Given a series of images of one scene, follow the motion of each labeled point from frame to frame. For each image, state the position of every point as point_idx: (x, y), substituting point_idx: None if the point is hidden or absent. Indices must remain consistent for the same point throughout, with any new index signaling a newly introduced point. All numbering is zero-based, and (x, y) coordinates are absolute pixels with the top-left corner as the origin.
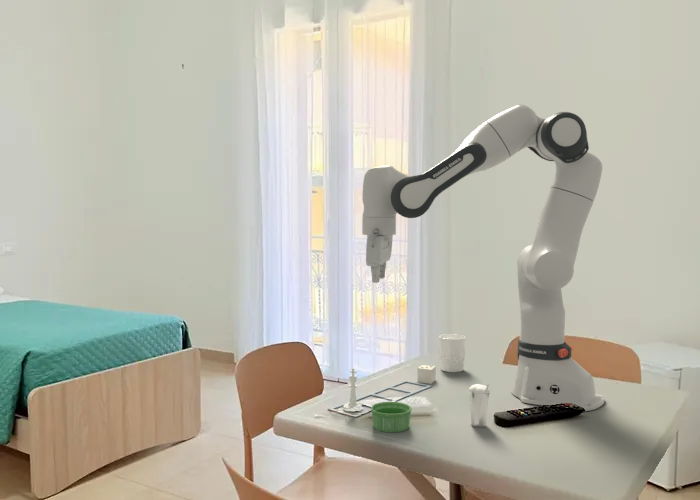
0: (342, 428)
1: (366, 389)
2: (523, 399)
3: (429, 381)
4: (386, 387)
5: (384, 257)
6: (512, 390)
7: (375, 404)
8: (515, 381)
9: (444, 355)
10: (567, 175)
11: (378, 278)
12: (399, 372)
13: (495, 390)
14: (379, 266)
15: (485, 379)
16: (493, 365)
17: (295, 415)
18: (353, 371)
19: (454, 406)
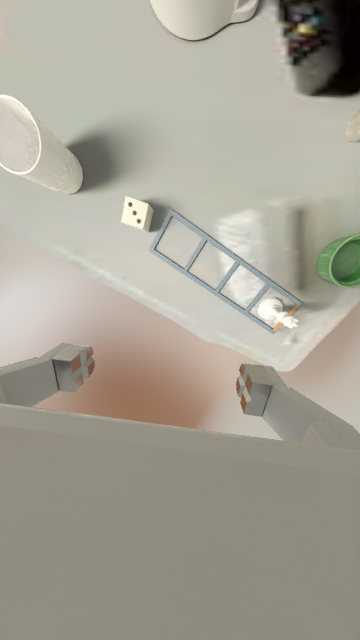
0: (335, 313)
1: (192, 299)
2: (252, 9)
3: (152, 212)
4: (186, 275)
5: (237, 515)
6: (188, 35)
7: (339, 283)
8: (193, 2)
9: (64, 175)
10: None
11: (280, 379)
12: (105, 261)
13: (176, 83)
14: (344, 446)
15: (110, 102)
16: (9, 76)
17: (287, 360)
18: (295, 323)
19: (264, 170)
